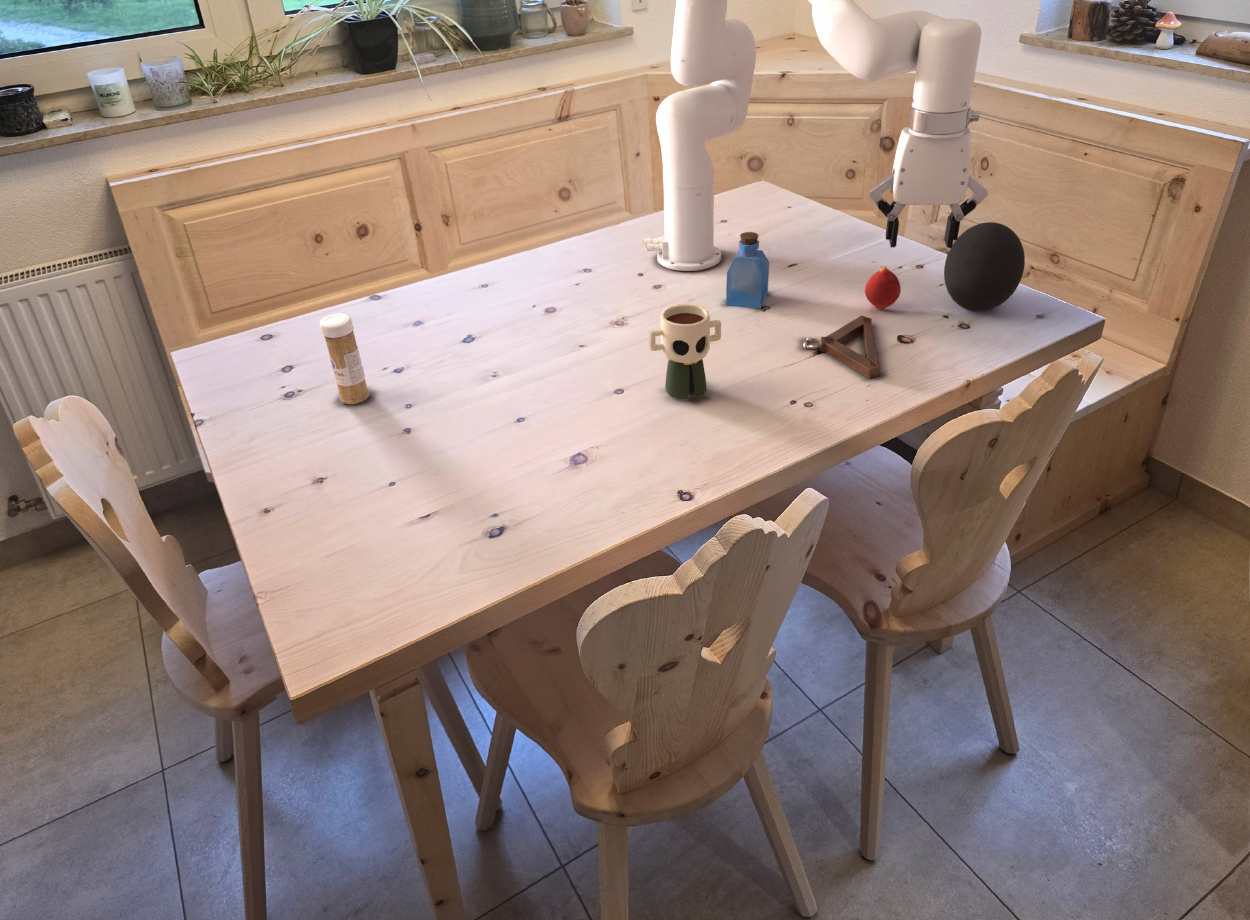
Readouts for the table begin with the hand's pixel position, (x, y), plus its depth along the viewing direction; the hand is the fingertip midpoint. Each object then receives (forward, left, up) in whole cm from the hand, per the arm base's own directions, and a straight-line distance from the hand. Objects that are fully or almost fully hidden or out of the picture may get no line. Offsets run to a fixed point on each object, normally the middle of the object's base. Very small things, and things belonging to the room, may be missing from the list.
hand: (920, 243), depth 132 cm
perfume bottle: (-26, +18, -18) cm, 36 cm away
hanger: (-10, 0, -18) cm, 21 cm away
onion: (-3, +15, -18) cm, 24 cm away
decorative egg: (+13, +16, -18) cm, 28 cm away
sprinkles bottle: (-85, -20, -18) cm, 89 cm away
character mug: (-34, -15, -18) cm, 41 cm away
